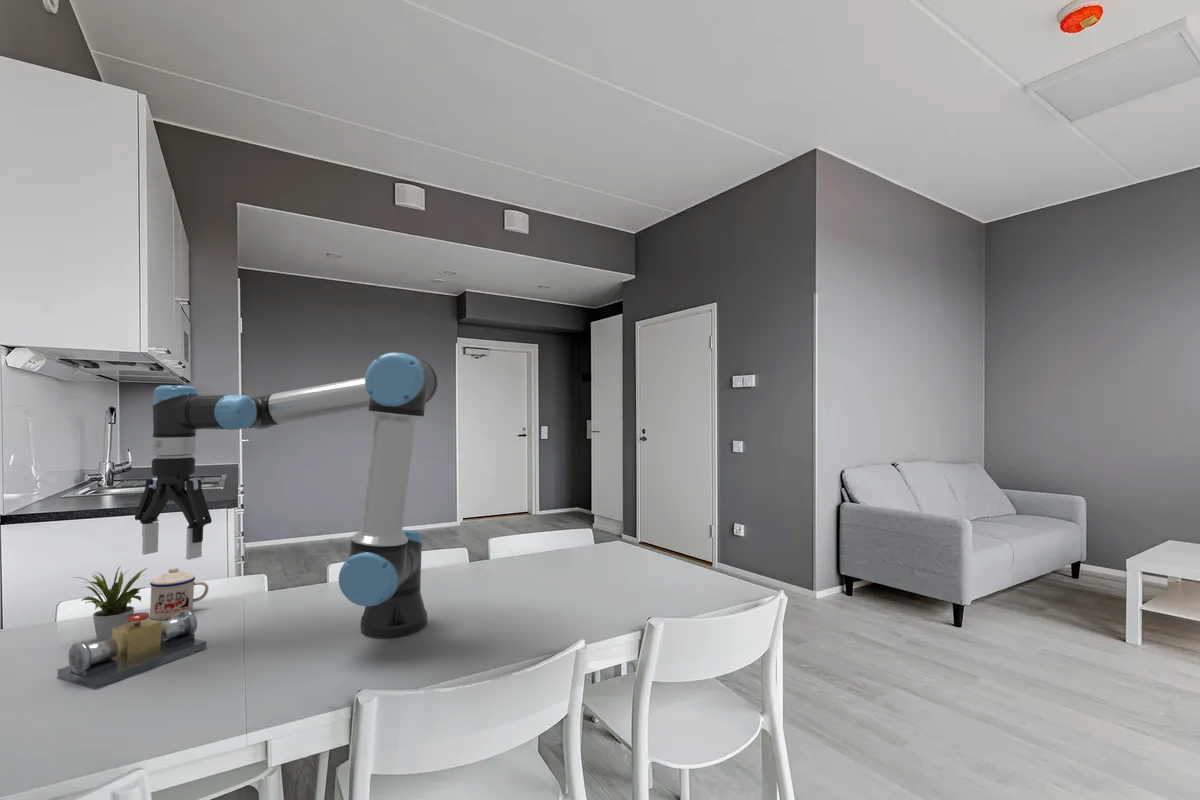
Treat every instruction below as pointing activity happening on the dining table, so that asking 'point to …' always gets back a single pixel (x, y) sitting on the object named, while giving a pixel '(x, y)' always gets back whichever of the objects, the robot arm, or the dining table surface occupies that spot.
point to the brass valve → (137, 637)
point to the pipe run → (100, 669)
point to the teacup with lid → (173, 594)
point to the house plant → (112, 604)
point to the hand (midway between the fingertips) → (171, 555)
